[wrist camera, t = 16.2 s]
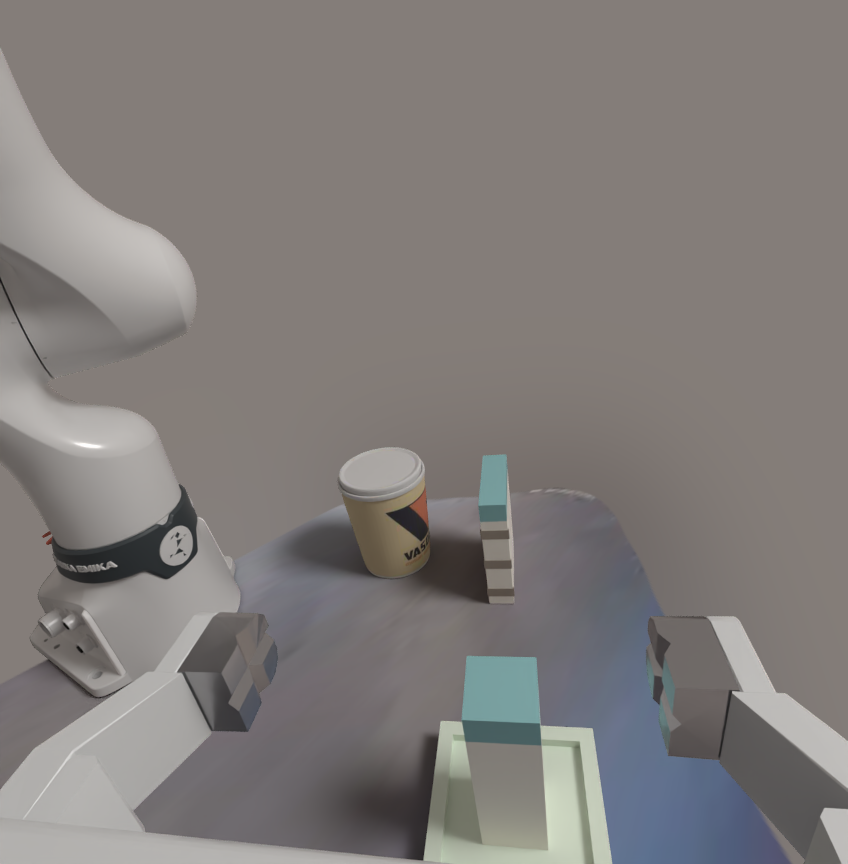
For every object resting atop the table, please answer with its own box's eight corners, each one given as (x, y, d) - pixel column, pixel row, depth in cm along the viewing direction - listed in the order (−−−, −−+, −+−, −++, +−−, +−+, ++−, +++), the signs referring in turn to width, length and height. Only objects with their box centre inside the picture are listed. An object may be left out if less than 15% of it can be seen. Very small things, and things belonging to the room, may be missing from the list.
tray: (422, 918, 30) (418, 902, 30) (444, 736, 40) (440, 720, 39) (620, 943, 28) (621, 927, 28) (592, 744, 38) (592, 728, 37)
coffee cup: (419, 591, 55) (401, 495, 49) (343, 577, 58) (318, 486, 53) (448, 536, 62) (435, 448, 57) (379, 526, 66) (361, 443, 61)
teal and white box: (488, 603, 52) (477, 505, 46) (491, 545, 60) (482, 455, 54) (515, 603, 51) (506, 504, 46) (514, 544, 59) (507, 454, 54)
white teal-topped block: (482, 844, 32) (461, 720, 27) (485, 777, 36) (466, 655, 31) (548, 850, 32) (540, 723, 26) (544, 781, 35) (536, 657, 30)
